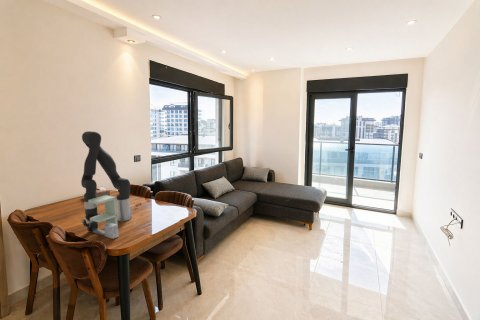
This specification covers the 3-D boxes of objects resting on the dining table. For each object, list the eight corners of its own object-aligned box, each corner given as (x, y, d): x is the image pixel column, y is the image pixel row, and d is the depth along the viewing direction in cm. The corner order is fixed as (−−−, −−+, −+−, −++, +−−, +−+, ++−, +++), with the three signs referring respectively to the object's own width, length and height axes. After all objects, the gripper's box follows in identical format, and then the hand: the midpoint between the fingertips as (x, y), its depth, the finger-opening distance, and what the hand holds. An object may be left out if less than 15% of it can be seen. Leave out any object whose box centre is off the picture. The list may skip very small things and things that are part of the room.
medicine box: (118, 236, 169) (118, 224, 167) (113, 239, 165) (112, 226, 163) (110, 234, 172) (109, 222, 171) (105, 237, 168) (104, 224, 167)
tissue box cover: (110, 200, 248) (109, 190, 246) (94, 203, 238) (93, 193, 236) (102, 195, 266) (101, 185, 264) (87, 197, 256) (86, 188, 255)
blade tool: (93, 229, 180) (93, 220, 179) (110, 234, 172) (110, 224, 171) (88, 231, 176) (87, 222, 175) (105, 236, 168) (104, 226, 167)
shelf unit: (108, 228, 182) (105, 195, 178) (118, 230, 177) (115, 196, 174) (91, 235, 170) (88, 200, 166) (101, 238, 166) (98, 202, 162)
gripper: (97, 203, 182) (98, 225, 185) (77, 209, 170) (79, 233, 172) (103, 204, 179) (105, 227, 182) (84, 210, 166) (86, 235, 169)
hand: (92, 229), depth 177 cm, fingers closed on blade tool, 4 cm apart
